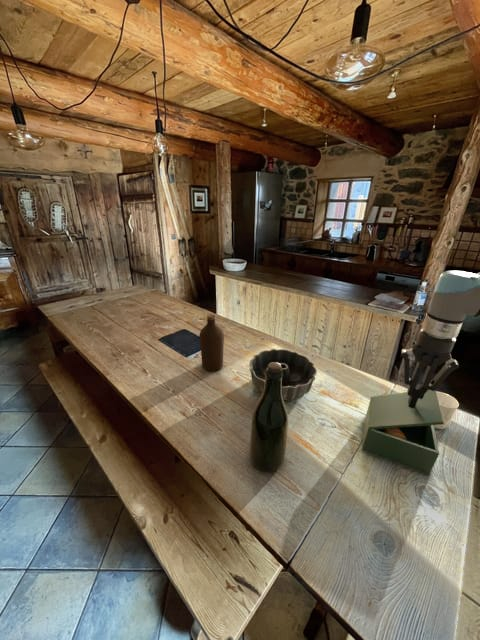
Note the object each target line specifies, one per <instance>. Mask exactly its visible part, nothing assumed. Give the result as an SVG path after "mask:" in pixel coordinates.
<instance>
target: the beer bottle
mask: <svg viewBox="0 0 480 640" xmlns="http://www.w3.org/2000/svg"><path fill="white" fill-rule="evenodd" d="M265 375H266V377H265V385H264V390H263V393H261V396H260V397H259V399H258V401H257V403H256V405H255V406H254V409H253V412H252V417H251V426H250V438H249V459H250V462H251V463H252V464H253V466H254V467H255V468H257V469H258V470H260V471H263V472H268V473H269V472H275V471H277V470H279V469H280V468H281V467H282V466H283V465H284V463H285V458H286V451H287V444H288V443H287V442H288V432H289V414H288V413H289V412H288V410H287V407H286V403H285V400H283V398H282V377H283V370H282V367H281V364H279V363H277V362H271V363H269V364H268V367H267V368H266V371H265Z"/></svg>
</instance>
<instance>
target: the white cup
mask: <svg viewBox="0 0 480 640" xmlns="http://www.w3.org/2000/svg"><path fill="white" fill-rule="evenodd" d="M436 393H437V397H438V401H439V406H440V410H441V414H442V418H443V422H444V424H441V425H434V429H439V430H445V429H446V427H447V426H448V424H449V423H450V421H451V420H452V419H453V417H454V416H455V413H456V412H457V410H458V409H459V406H460V403H459V402H458V400H457V398H455V397H454V396H452V395H450V394H448V393H445V392H442V391H436Z"/></svg>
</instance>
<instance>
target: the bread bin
mask: <svg viewBox="0 0 480 640" xmlns="http://www.w3.org/2000/svg"><path fill="white" fill-rule="evenodd" d="M369 410H370V402H369V403H368V406H367V410H366V413H365V416H364V424H363V436H362V445H361V451H363V452H366V453H369V454H370V455H371V454H372V455H374V456H377V457H379V458H382V459H384V460H388V461H390V462H392V463H395V464H398V465H401V466H403V467H406V468H409V469H411V470H413V471H417V472H419V473H422V474H425V475H426V476H427V475H428V476H430V474H431V472H432V471H433V468H434V466H435V464H436V462H437V460H438V458H439V456H440V451H439V450H440V449H439V445H438V440H437V435H436V431H435V428H434V425H426V426H411V427H399V429H401V431H402V433H403V434H404V435H405V437H406V439H407V441H406V440H403V439H400V438H397V437H394V436H391V435H388V434H385V433H384V429H385V428H381V429H369V428H368V422H369Z"/></svg>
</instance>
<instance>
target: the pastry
mask: <svg viewBox="0 0 480 640" xmlns="http://www.w3.org/2000/svg"><path fill="white" fill-rule="evenodd" d="M384 433H385V434H388V435H391V436H394V437H397V438H400V439H403V440H406V441H407V439H406V437H405V435H404V434H403V433H402V431H401V429H399V427H396V428H385V429H384Z"/></svg>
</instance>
